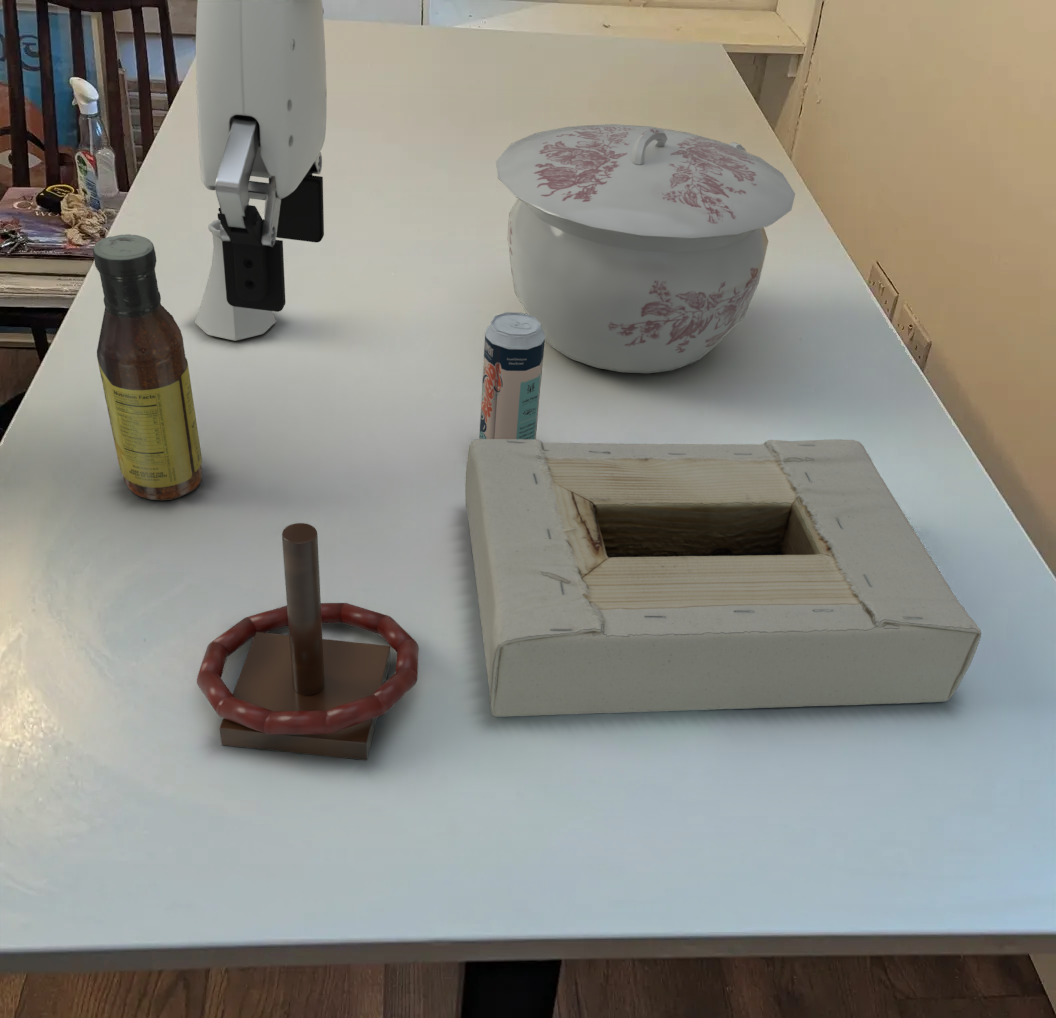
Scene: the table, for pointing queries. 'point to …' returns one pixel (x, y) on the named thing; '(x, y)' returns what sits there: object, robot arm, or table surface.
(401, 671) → the ring
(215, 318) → the flask
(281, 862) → the table surface
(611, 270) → the chamber pot
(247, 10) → the robot arm
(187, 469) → the sauce bottle
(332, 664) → the post
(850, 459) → the box
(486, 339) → the beer can
